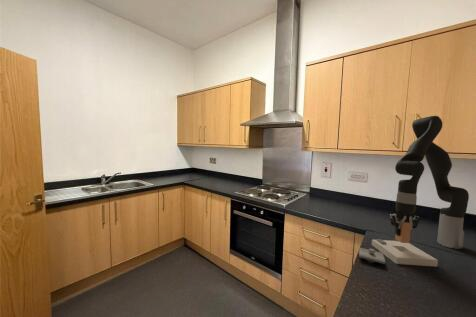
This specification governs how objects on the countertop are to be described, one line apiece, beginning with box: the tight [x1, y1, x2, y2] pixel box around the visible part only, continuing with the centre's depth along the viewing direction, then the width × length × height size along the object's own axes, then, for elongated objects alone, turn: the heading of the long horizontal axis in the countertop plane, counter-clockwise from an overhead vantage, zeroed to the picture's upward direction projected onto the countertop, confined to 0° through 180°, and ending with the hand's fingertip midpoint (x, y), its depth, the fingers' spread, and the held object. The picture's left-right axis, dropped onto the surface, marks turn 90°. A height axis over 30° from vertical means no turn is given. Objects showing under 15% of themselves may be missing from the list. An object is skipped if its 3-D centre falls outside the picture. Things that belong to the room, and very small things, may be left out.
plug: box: [394, 220, 412, 244], centre depth 100 cm, size 4×4×12 cm
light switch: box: [358, 247, 386, 265], centre depth 94 cm, size 10×10×5 cm
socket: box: [371, 238, 439, 268], centre depth 100 cm, size 18×18×4 cm
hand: (402, 235), depth 100 cm, fingers closed on plug, 4 cm apart
